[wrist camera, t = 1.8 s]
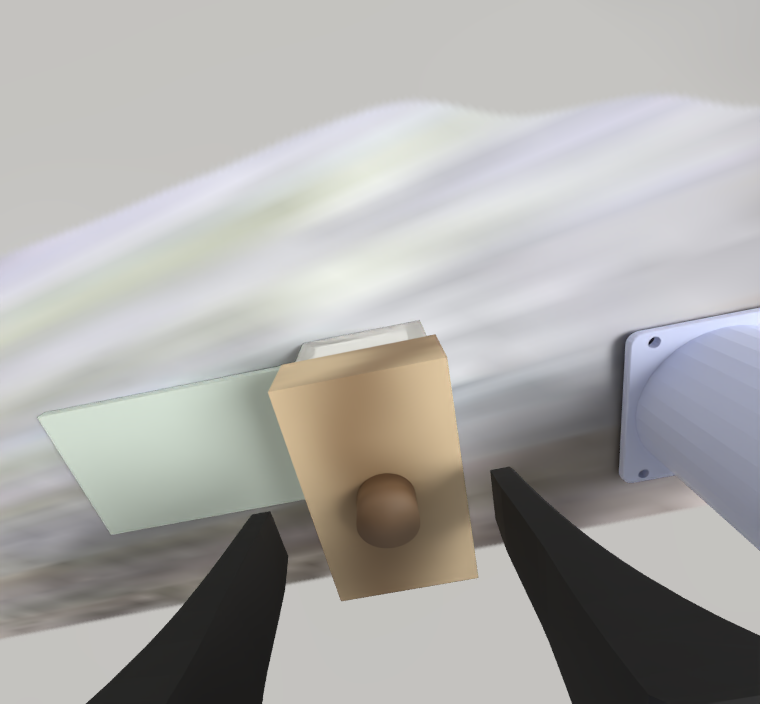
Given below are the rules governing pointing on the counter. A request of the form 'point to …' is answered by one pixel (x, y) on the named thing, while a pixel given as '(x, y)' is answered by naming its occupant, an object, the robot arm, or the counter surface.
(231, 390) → the mat
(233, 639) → the robot arm
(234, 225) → the counter surface
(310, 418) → the lid
